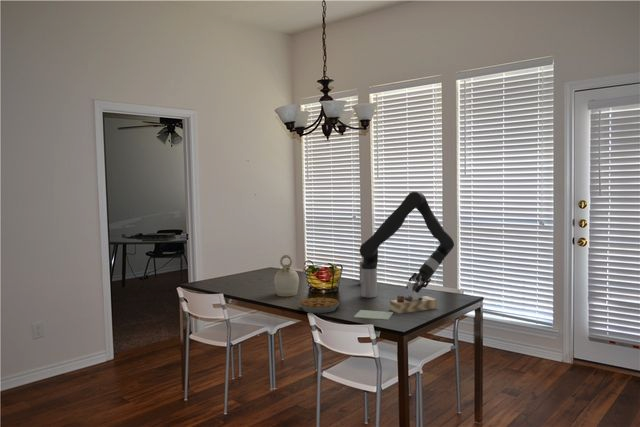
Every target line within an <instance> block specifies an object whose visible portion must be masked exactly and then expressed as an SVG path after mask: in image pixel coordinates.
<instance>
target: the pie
mask: <svg viewBox="0 0 640 427" xmlns="http://www.w3.org/2000/svg"><path fill="white" fill-rule="evenodd" d="M339 304H340V302H339V300H338V299H336V298H332V297H328V298H327V297H324V296H323V297H319V296H316V297H309V298H304V299H303V300H300V303H299V305H300V307H301V309H302V310H303V311H304V312H306V313H311V312H312V313H311V314H313V313H314V314H316V313H317V314H322V313H333V312H334V311H336V310H337V307H338V306H339Z"/></svg>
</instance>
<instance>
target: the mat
mask: <svg viewBox="0 0 640 427" xmlns="http://www.w3.org/2000/svg"><path fill="white" fill-rule="evenodd" d="M393 314H394V311H382V310H381V311H380V310H378V311H377V310H366V309H365V310H364V309H360V310H359V311H358V312H357V313H356V314H355V315H354V316H353V318H356V319H368V320H370V319H372V320H383V321H386V320H387V321H389V319H390V318H391V317H392V316H393Z"/></svg>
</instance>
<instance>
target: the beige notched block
mask: <svg viewBox="0 0 640 427" xmlns="http://www.w3.org/2000/svg"><path fill="white" fill-rule="evenodd" d="M437 302H438V301H437V298H434V297H432V296H428V295H424V296H419V300H418V301H413V299H412V298H409V297H408V296H405V295H401V294H400V295H396V299H391V300H389V310H391V312H393V313H394V312H395V313H397V314H404V313H413V312H420V311H427V310H434V309H437V307H438V306H437V305H438V304H437Z"/></svg>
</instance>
